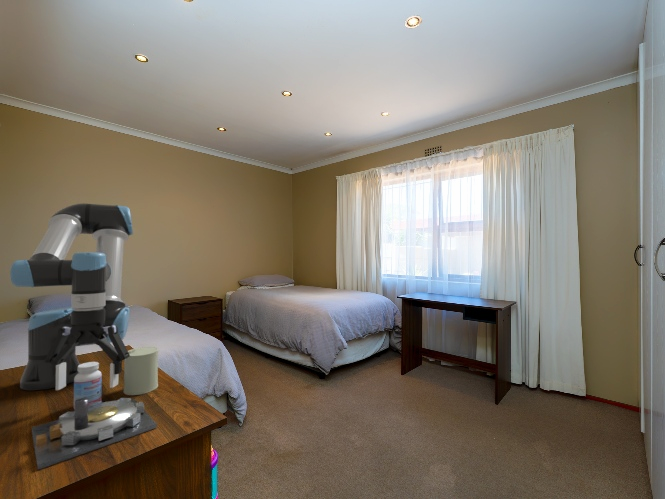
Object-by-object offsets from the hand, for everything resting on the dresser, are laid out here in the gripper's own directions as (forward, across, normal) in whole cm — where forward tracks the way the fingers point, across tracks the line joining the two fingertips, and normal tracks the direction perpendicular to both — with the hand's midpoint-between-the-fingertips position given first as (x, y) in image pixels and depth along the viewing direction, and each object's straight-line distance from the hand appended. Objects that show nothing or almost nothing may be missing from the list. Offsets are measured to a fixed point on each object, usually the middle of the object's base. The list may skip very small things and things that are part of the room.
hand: (87, 387), depth 88 cm
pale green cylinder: (+5, +9, +11) cm, 15 cm away
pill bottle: (+5, 0, 0) cm, 5 cm away
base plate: (+6, +10, -12) cm, 16 cm away
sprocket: (+4, +10, -12) cm, 16 cm away
